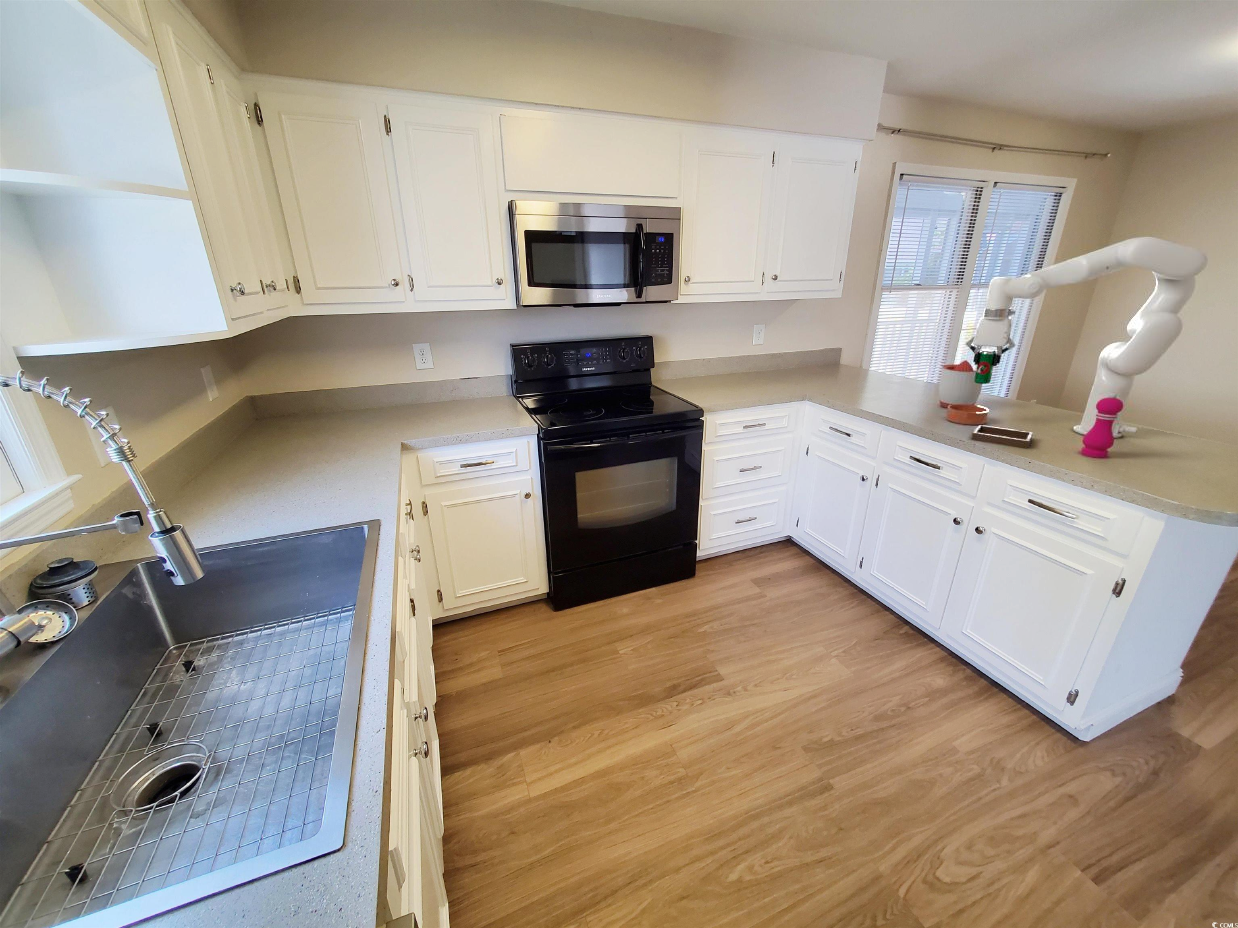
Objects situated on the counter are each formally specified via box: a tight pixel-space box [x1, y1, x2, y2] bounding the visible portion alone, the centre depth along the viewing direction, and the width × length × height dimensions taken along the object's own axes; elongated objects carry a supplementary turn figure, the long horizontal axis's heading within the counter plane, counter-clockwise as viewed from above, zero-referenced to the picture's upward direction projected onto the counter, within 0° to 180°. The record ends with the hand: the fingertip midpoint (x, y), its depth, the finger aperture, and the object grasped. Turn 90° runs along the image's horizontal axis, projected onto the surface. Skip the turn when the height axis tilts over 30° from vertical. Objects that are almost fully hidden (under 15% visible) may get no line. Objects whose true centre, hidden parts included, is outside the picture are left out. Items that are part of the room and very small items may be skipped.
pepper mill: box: [1080, 393, 1123, 459], centre depth 153 cm, size 7×7×20 cm
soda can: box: [974, 349, 997, 385], centre depth 182 cm, size 5×5×12 cm
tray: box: [971, 424, 1034, 449], centre depth 172 cm, size 16×12×3 cm
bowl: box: [945, 404, 990, 426], centre depth 193 cm, size 13×13×5 cm
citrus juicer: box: [938, 359, 983, 409], centre depth 210 cm, size 16×17×20 cm
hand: (985, 364), depth 182 cm, fingers closed on soda can, 5 cm apart
